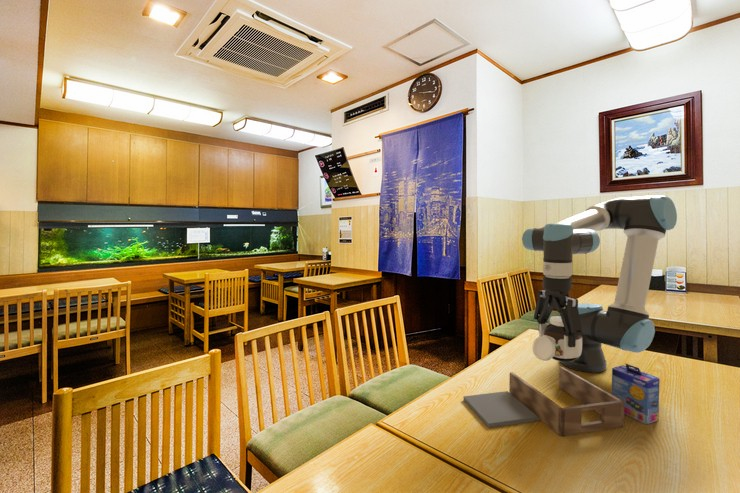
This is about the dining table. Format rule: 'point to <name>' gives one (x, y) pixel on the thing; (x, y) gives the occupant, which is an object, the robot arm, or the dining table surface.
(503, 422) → the slate board
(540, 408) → the wooden tray frame
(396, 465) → the dining table surface
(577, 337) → the spread jar
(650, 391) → the ink cartridge box
